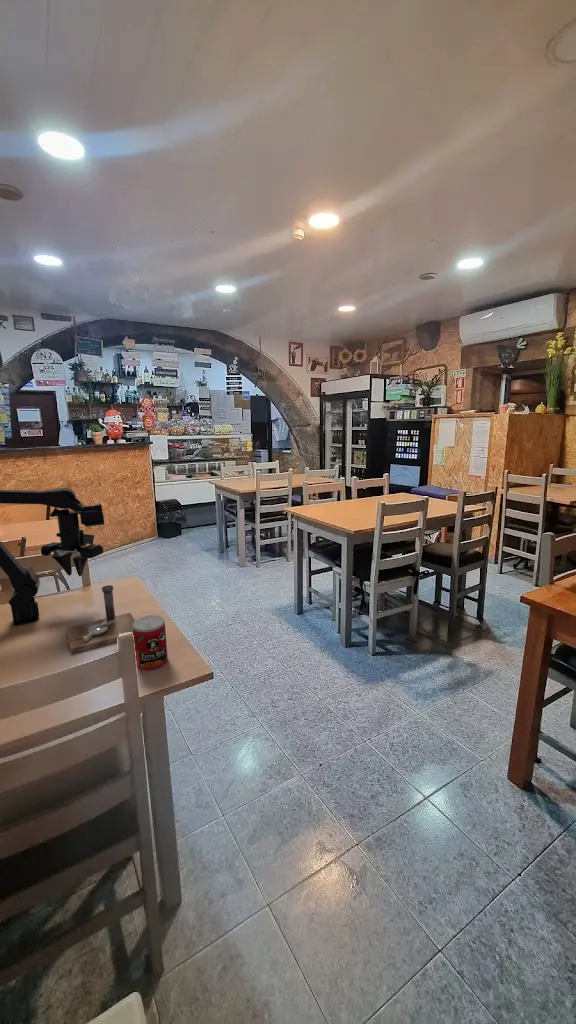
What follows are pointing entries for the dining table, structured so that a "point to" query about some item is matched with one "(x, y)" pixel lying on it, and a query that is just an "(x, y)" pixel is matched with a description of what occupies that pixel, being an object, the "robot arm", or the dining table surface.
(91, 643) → the stand
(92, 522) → the robot arm
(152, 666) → the canned food
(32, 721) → the dining table surface
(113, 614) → the crank handle
